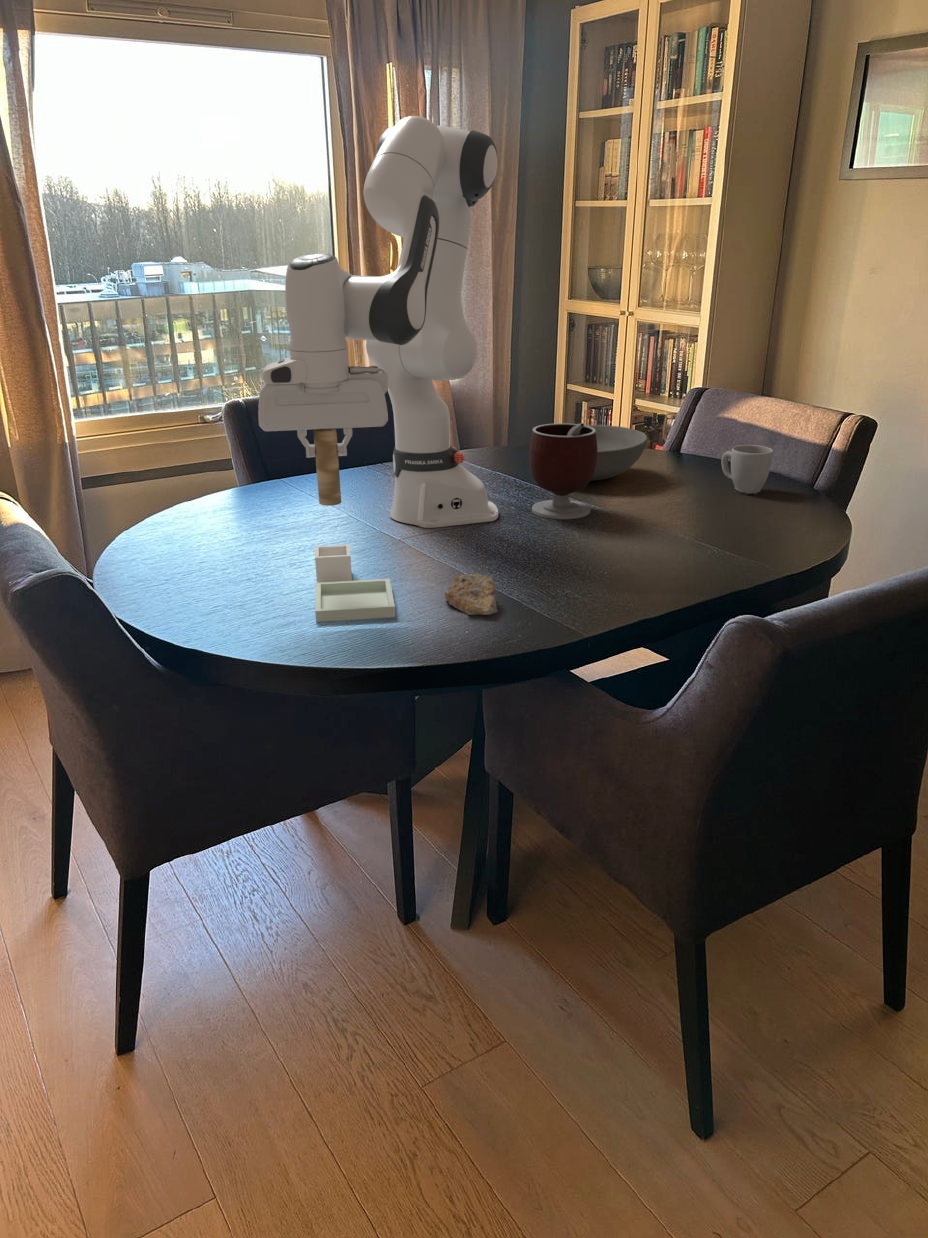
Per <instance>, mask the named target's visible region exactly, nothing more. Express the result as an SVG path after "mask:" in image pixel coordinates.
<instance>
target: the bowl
mask: <svg viewBox="0 0 928 1238" xmlns="http://www.w3.org/2000/svg"><path fill="white" fill-rule="evenodd" d="M585 425H586V426H590V427H592V428H594V429H595V430H596V432H595V433H596V438H597V462H596V467H595V472H594V475H593V478H592V479H591V481H601V480H606V479H607V480H608V479H611V478H614V477H617V476H619V475H621V474H622V473H625V472H626V471H627V470H629V469H630V468H631V467H632V466H634V464H636V462H637V461H638V460H639V459H640V457H641V456H642V454H643V453H644V450H646V446H647V443H648V440H649V439H648V436H647V434H645V433H644V432H642V431H640V430H637V429H633V428H628V427H624V426H616V425H606V424H605V425H604V424H603V425H602V424H585ZM591 481H590V482H591Z"/></svg>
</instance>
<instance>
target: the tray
mask: <svg viewBox="0 0 928 1238" xmlns="http://www.w3.org/2000/svg"><path fill="white" fill-rule="evenodd" d="M391 584H392V583H391V578H376V579H361V580H360V579H359V580H352V581H339V582H321V583H317V582H315V597H314V598H315V604H314V605H315V606H314V607H315V609H314V610H315V622H316V623H320V622H333V621H335V622H336V621H350V620H351V621H353V620H367V619H383V618H384V619H386V618H387V619H388V618H396V604H395V601H394V595H393V590H392V585H391Z"/></svg>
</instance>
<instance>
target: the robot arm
mask: <svg viewBox="0 0 928 1238" xmlns="http://www.w3.org/2000/svg"><path fill="white" fill-rule="evenodd" d="M497 152H498V151H497V146H496V145H495V143H494V141H493V139H492V137H491V136H490V135H488V134H486V133H483V132H480V131H477V130H473V129H472V130H466V129H461V128H458V127H457V128H456V127H452V126H446V125H439V124H438V125H436V124H435V123H434V122H432V121H431V120H429V119H428V118H425V117H423V116H420V115H408V116H405V117H403V118H401V119H399V121H397V122H396V123H395V124H394V125H393V126H392V125H391V126H389V127H388V128H387V129H385V130H384V131H383V133H382V134H381V135H380V137H379V138H378V143H377V146H376V152H375V153H376V155H375V156H374V159H373V161H372V163H371V166H370V167H369V170H368V172H367V174H366V177H365V181H364V185H363V199H364V203H365V207H366V209H367V211H368V213H369V214H370V217H372V218H373V220H374V221H375V223H376V224H378V225H379V226H380V227H381V228H382V229H383V230H385V231H387V232H389V233H391V234H392V235H396V236H398V237H401V238H403V242H402V245H401V246H402V247H401V252H400V254H399V255H400V256H399V260H398V264H397V268H396V269H395V270H394V271H393V272H390V273H389V274H385V275H378V276H377V275H357V274H355V275H353V274H352V273H349V272H347V271H345V270H344V269H342V268H341V267H340V263H339V261H338V259H337V256H335V255H333V254H330V253H311V254H303V255H301V256H298V257H296V258H294V259H292V260H291V261H290V262H289V263H288V265H287V268H286V274H285V285H284V286H285V291H284V292H285V293H284V294H285V296H284V297H285V309H286V313H285V314H286V320H287V323H288V326H289V329H290V341H289V356H288V357H285V358H282V359H280V360H276V361H274V362H270V363H268V364H267V365H265V366H264V368H263V369H262V372H261V374H262V380H263V382H264V383H263V384H262V386H261V389H260V391H259V396H258V405H257V406H258V411H257V412H258V426H259V427H260V428H261V430H263V432H279V431H280V432H282V431H283V432H284V431H285V432H286V431H296V433H297V438H298V440H300V442H301V444H302V445H303V446H304V448H305V455H306V456H305V457H306V458H316V454H315V444H314V443H313V444H312V443H311V444H310V443H309V440H308V439H307V438H306V437H307V436H308V435H307V430H314V429H333V428H336V429H343V435H344V437H343V440H342V442H337V450H338V457H347V456H348V451H347V449H348V447H347V446H348V444H349V442H350V440H351V438H352V437H353V434H354V433H353V429H355V428H372V427H375V428H378V427H384V426H385V425H386V424H387V422H388V421H389V414H388V412H389V411H388V407H387V406H388V405H387V401H386V400H387V399H386V394H387V392H388V395H389V399H390V403H391V406H392V412H393V425H394V427H393V428H394V443H395V444H394V445H395V446H394V447H393V453H392V466H393V473H394V477H395V478H394V479H395V481H394V491H393V497H392V498H393V500H392V503H391V504H392V505H391V508H390V513H389V517H390V518H391V519H392V520H395V521H397V522H400V523H404V524H408V525H414V526H418V527H420V528H424V529H431V528H433V529H435V528H442V527H451V526H459V525H470V524H478V523H479V524H480V523H486V522H487V523H488V522H494V521H496V520H497V519H498V518H499V509H498V507H497V505H496V504H495V503H493V502H492V501H490V500H489V499H488V493H487V489H486V487H485V485H484V483H483V482H482V481H481V479H479V478H478V477H477V476H476V475H474V473H471V472H470V471H469V470H467V468H465V467H464V466H462V465H461V464H463V463H464V461H465V460H466V459H465V458H466V457H465V455H464V454H463V452H461V451H460V450H459V449H457V448H456V447H455V446H451V436H450V435H451V429H450V428H451V426H450V425H451V424H450V420H451V419H450V417H451V416H450V409H449V407H448V404H447V403H446V402H445V401H444V400H443V399H442V398H441V396H440V395H439V393H438V391H437V390H436V388H435V385H434V382H433V381H439V382H446V381H453V380H454V381H455V380H459V379H460V380H461V379H463V378H465V377H467V376H468V375H470V374H471V372H472V371H473V369H474V367H475V366H476V362H477V360H478V359H477V358H478V343H477V340H476V337H475V336H474V333H473V332H472V331H471V330H470V328H469V326H468V325H467V322H466V319H465V316H464V311H463V306H462V304H463V303H462V287H463V280H464V273H465V266H466V260H467V256H468V249H469V243H470V236H471V235H470V234H471V228H472V227H471V225H472V224H471V223H472V207H474V206H476V204H477V203H478V201H479V200H480V199H483V198H484V196H485V195H486V194H487V193H488V192H489V191H490V189H491V188H492V186H493V184H494V182H495V180H496V175H497V171H498V153H497ZM347 339H348V340H355V341H356V340H357V341H365V348H366V353H367V357H368V358H369V359H368V360H370V362H371V364H373V365H369V366H360V365H358V366H357V365H356V366H350V364H349V353H348V352H349V350H348V349H349V348H348V342H347Z"/></svg>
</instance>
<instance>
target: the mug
mask: <svg viewBox="0 0 928 1238" xmlns="http://www.w3.org/2000/svg"><path fill="white" fill-rule="evenodd" d="M773 458H774V450H773V449H772V448H771V447H768V446H764V445H757V444H741V445H740V444H739V445H735V446H733V447H732V448H731V450H727V451H725V452H724V453H723V454H722V456H721V464H720V465H721V470H722V472H723V474H724V477H726V478H728V479H730V480H731V481H732V483H733V485H734V490H735V489H736V490H738V491H740V492H746V493H756V492H760V493H761V491H762V488H763V487H764V485H765V483H766V482H767V479H768V477H769V473H770V470H771V468H772V463H773ZM729 459H730V467H729Z"/></svg>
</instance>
